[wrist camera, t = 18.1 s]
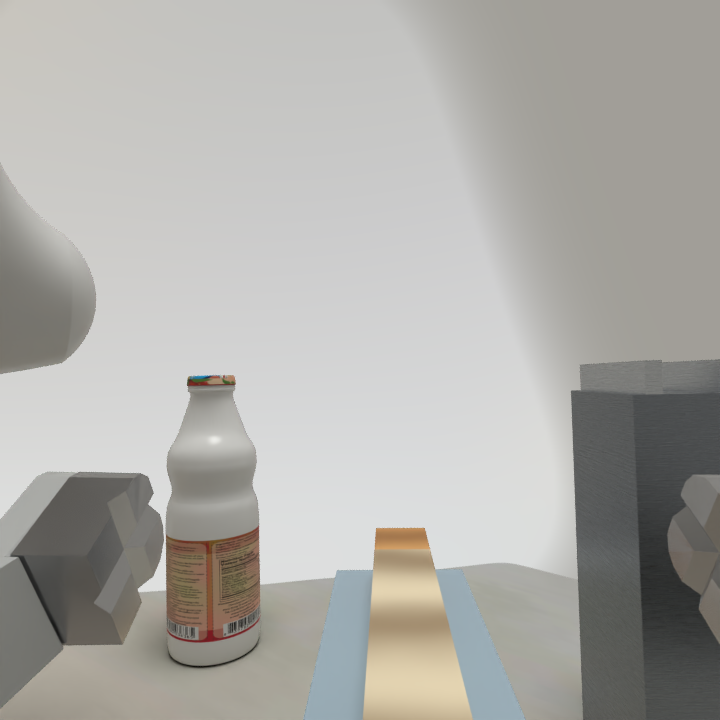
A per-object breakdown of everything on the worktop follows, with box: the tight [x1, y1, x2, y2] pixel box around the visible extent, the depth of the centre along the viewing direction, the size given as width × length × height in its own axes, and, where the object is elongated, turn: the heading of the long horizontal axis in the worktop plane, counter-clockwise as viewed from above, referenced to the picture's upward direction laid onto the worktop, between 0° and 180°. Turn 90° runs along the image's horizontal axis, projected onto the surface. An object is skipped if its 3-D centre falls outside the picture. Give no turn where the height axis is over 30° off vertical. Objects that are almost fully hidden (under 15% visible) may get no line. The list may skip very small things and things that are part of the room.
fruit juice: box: [166, 375, 260, 666], centre depth 55 cm, size 9×9×28 cm
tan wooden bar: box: [363, 528, 473, 720], centre depth 21 cm, size 22×3×3 cm, turn 177°
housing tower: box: [571, 359, 720, 720], centre depth 36 cm, size 12×8×28 cm, turn 178°
